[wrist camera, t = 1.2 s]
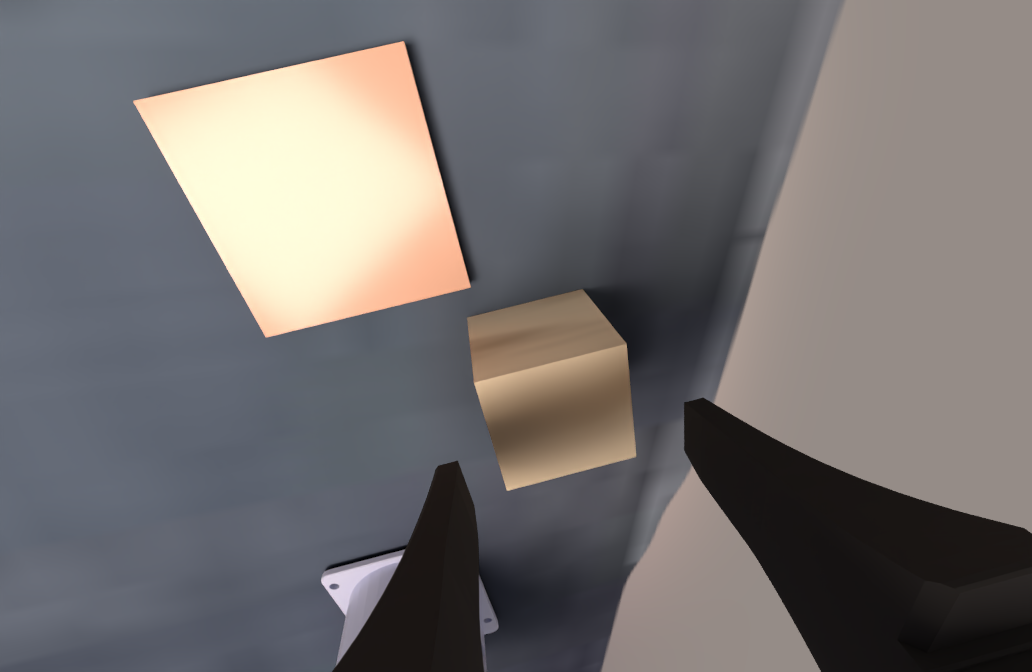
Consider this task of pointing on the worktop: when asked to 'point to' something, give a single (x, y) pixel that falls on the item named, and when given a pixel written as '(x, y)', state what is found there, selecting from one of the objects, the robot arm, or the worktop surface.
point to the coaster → (316, 186)
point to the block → (552, 388)
